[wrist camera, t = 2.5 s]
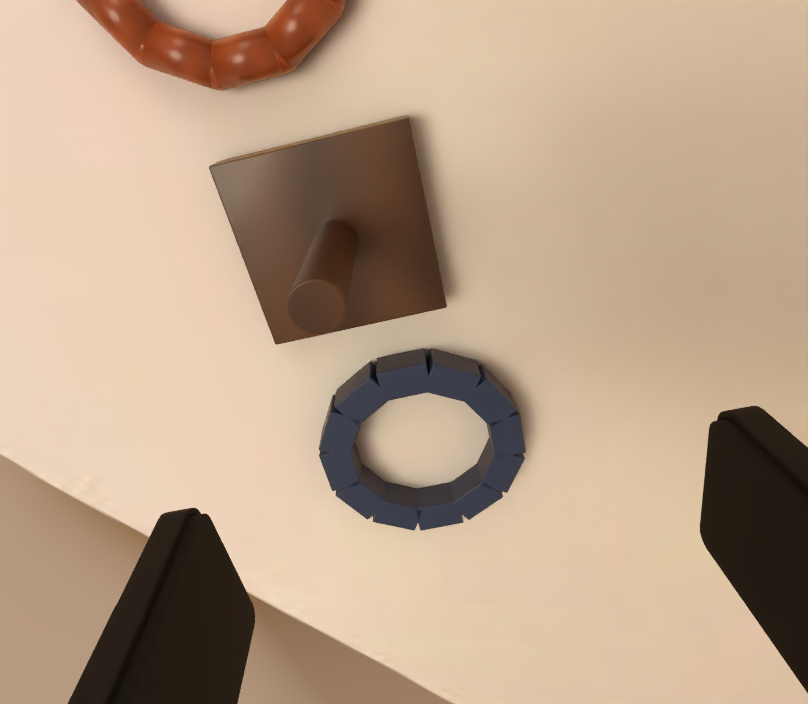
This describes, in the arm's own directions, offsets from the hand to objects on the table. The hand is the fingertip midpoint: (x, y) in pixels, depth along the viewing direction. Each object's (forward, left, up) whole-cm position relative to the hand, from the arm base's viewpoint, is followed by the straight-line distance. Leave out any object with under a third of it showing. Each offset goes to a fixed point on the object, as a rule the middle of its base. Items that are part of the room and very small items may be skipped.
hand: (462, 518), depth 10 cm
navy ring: (+2, +12, -19) cm, 22 cm away
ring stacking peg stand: (+4, -1, -19) cm, 19 cm away
